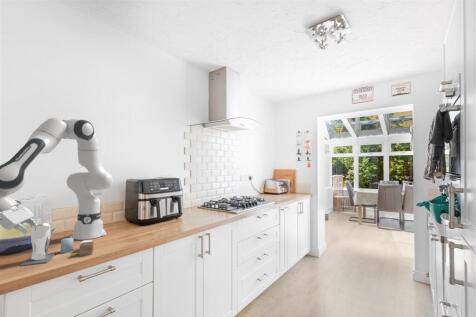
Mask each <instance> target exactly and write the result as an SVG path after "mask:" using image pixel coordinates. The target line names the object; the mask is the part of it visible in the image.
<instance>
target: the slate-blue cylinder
mask: <svg viewBox="0 0 476 317" xmlns="http://www.w3.org/2000/svg"><path fill="white" fill-rule="evenodd" d="M74 240H75V239H74V238H70V237H65V238H62V239H61V240H60V254H69V253H72V252H73V251H74Z"/></svg>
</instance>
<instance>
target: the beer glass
mask: <svg viewBox="0 0 476 317" xmlns="http://www.w3.org/2000/svg"><path fill="white" fill-rule="evenodd" d="M51 236H52V223H50V222H41V223H40V222H39V223H36V224H35V225H32V227H31V233H30V241H31V246H32V254H31V256H32V258H31V260H32V261H38V260H43V259H46V258H48V257H49V254H50V252H49V245H50V242H51V238H52V237H51Z"/></svg>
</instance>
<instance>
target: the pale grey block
mask: <svg viewBox="0 0 476 317" xmlns="http://www.w3.org/2000/svg"><path fill="white" fill-rule="evenodd" d="M92 241H93V239H85V240H81V242H80V243H79V245H80V244H81V243H82V242H92Z"/></svg>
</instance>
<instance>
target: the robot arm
mask: <svg viewBox="0 0 476 317" xmlns="http://www.w3.org/2000/svg"><path fill="white" fill-rule="evenodd" d="M62 139H64V140H65V139H66V140H67V139H68V140H75V142H77V158H78V160H77V161H78V164H79V165H80V166H81V167H84V168H85V169H86V170H87V171H88V172H80V171H79V172H76V173H75V172H74V173H70V174H69V175H68V177H67V178H66V185H67V187H68V188H69V189H70V190H71V191H72V192H73V193H74V194H75V196H76V198H77V202H78V213H77V216H76V217H77V218H76V219H77V221H76V222H75V223H74V225H73V233H72V235H70V236H69V238H74V240H78V241H79V240H81V241H83V240H93V239H97V238H99V237H103V236H106V235H107V232H106V229H104V225H103V224H104V221H102V220H101V217H102V214H101V200H100V198H99V197H98V196H96V195H94V194H93V192H92V191H105V190H108V189H109V190H110V188H112V186H113V184H114V177H113V176H112V174H111V173H109V172H108V171H107V170H106V169H105V168H104V166H103V164H102V162H101V155H100V145H99V140H98V136H97V134H96V133H95V129H94V125H93V124H92V123H91V121H88V120H86V119H76V118H75V119H74V118H73V119H72V118H71V119H60V118H56V117H50V118H48V119H47V120H44V121H43V123H41V124H40V125H39V126H38V127H37V128H36V129H35V130H34V131H33V132H32V133H31V135H30V136H29V138H28V139H27V141H26V142H25V144H24V145H23V146H22V147H21V148H20V149H18V151H17V152H16V153H15V154H14V155H13V156H12V157H10V159H9V160H8V161H6V162H5V163H2V164H0V226H1V228H3V229H5V230H7V231H10V230H12V229H14V230H17V231H19V232H21V233H23V234H27V233H28V232H30V228H32V225H35V224H37V223H36V221H35V220H34V219H33V218H34V217H35V215H34V213H33V212H32V211H31V210H30V209H28V208H27V207H26V206H25V205H23V202H22V201H20V200H16V199H14V198H12V197H10V196H11V195H12V194H14V193H17V192H19V191H20V190H22V188H23V187H24V185H25V179H24V178H25V177H24V176H25V171H26V170H27V168H28V167H29V166H30V165H31V163H33V161H34V160H35V159H36V158H37V157H38V156H39V155H41V154H42V155H43V154H44V155H45V154H49V153H50V152H52V151H53V150H54V149H55V148H56V147H57V146H58V145H59V144H60V142H61V141H62ZM23 224H27V225H29V226H30V228H28V227H26V226H23Z"/></svg>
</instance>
